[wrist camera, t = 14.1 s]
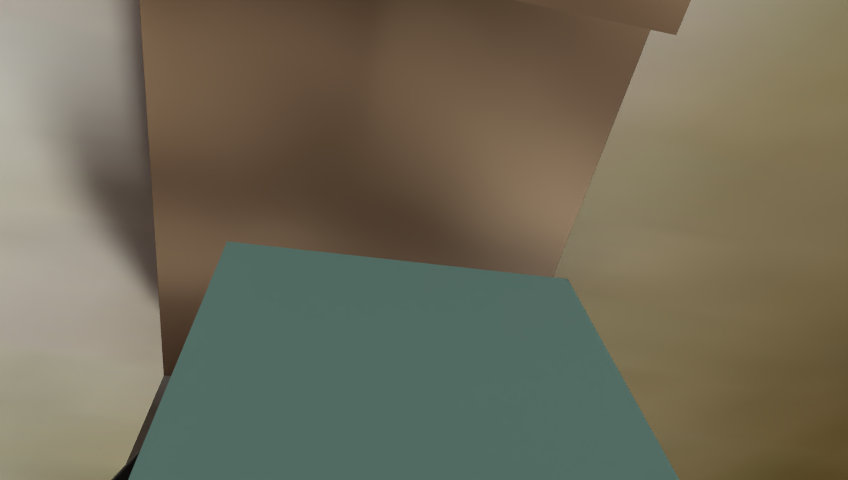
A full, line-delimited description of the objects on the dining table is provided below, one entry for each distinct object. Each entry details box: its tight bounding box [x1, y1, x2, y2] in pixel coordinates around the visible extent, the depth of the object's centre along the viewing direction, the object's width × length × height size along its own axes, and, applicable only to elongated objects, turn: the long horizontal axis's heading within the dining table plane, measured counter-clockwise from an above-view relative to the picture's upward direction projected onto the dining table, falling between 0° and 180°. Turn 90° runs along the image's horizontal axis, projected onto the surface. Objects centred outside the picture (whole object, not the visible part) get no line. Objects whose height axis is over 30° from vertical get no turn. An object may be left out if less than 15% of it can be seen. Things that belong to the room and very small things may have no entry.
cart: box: [126, 0, 691, 464], centre depth 15 cm, size 16×12×7 cm
